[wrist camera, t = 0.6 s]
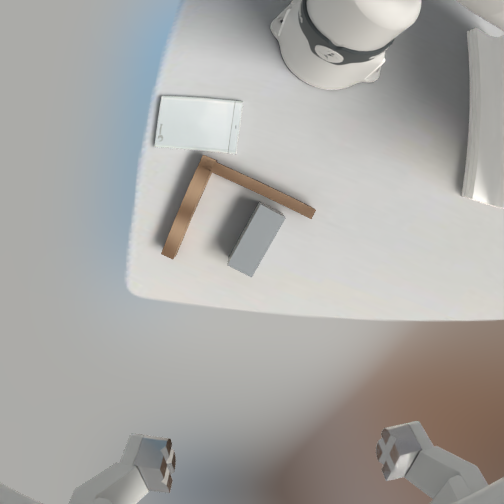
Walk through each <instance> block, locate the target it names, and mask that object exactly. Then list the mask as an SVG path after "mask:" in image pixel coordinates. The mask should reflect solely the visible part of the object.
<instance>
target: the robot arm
mask: <svg viewBox="0 0 504 504" xmlns="http://www.w3.org/2000/svg"><path fill="white" fill-rule="evenodd" d="M456 1H457V2H459V3H460V4H461V5H463V6H464V7H465V8H467V9H468V10H469V11H471V12H472V13H474V14H475V15H477V16H479V17H481V18H482V19H484V20H486V21H487V22H489V23H491V24H492V25H494V26H496V27H497V28H499V29H501V30H502V31H504V0H456ZM420 10H421V0H292V2H291V3H290V4H289V5H288V6H287V7H286V8H285V9H284V10H283V11H282V12H281V13H280V14H279V15H278V16H277V17H276V18H275V19H274V20H273V21H272V23H271V25H270V29H271V32H272V33H273V35H274V36H275V37H276V38H277V40H278V42H279V45H280V50H281V54H282V57H283V59H284V62H285V63H286V65H287V67H288V68H289V69H290V70H291V72H292V73H293V74H294V75H296V76H297V77H298V78H299V79H301V80H302V81H304V82H305V83H307V84H309V85H311V86H314V87H317V88H321V89H326V90H339V89H344V88H347V87H350V86H352V85H354V84H356V83H360V82H375V81H376V80H377V79H378V78H379V75H380V70H381V65H382V64H383V63H384V62H385V58H384V56H385V51H386V50H387V49H388V48H389V47H390V45H391V44H392V42H393V41H394V39H395V37H397V36H398V35H399V34H401V33H402V32H403V31H404V30H406V29H407V28H408V27H410V26H411V25H412V24H413V23H414V22H415V21H416V19H417V18H418V16H419V13H420ZM280 21H283V22H282V23H281V22H280ZM381 435H382V438H381V439H380V440H379V441H378V443H377V446H376V455H377V459H378V461H379V462H380V463H382V464H383V467H382V472H383V474H384V477H385V479H386V481H388V480H393V479H397V478H401V477H405V478H406V479H407V480H408V481H410V482H411V483H412V484H414V485H415V486H416V487H418V488H419V489H420V490H422V491H423V492H424V493H426V494H427V495H428V496H430V497H431V498H432V499H433V500H432V501H431V502H430V503H429V504H504V477H503V478H501V479H499V480H497V481H496V482H494V483H492V484H490V485H488V484H487V482H486V480H485V479H484V477H483V475H482V474H481V472H480V470H479V469H478V467H477V466H476V465H474V464H472V463H470V462H468V461H466V460H464V459H461V458H460V457H457V456H456V455H453V454H452V453H450V452H448V451H445V450H444V449H442V448H440V447H438V446H435V447H434V446H433V444H432V442H431V441H430V439H429V437H428V435H427V434H426V432H425V431H424V429H423V427H422V425H421V424H420V422H419V421H414V422H410V423H407V424H406V423H405V424H401V425H397V426H392V427H388V428H384V429H383V431H382V433H381ZM171 447H172V442H171V439H169V438H161V437H154V436H148V435H142V434H135V433H132V434H131V435H130V437H129V439H128V442H127V445H126V447H125V450H124V452H123V455H122V458H121V460H120V463H115V464H113V465H112V466H110V467H109V468H107V469H106V470H104V471H103V472H101V473H100V474H98V475H96V476H95V477H93V478H92V479H90V480H89V481H87V482H85V483H84V484H82V485H81V486H79V487H77V488H76V489H75V490H74V492H73V495H72V497H71V499H70V502H69V504H136V503H137V502H138V501H139V500H141V499H142V498H143V497H144V496H145V495H146V494H147V493H148V492H149V491H156V492H164V493H170V490H171V486H172V478H171V474H172V473H173V472H174V470H175V465H176V457H175V452H174V450H173V449H171ZM148 490H149V491H148ZM0 504H43V503H40V502H38V501H36V500H34V499H32V498H30V497H27V496H25V495H23V494H21V493H19V492H17V491H15V490H13V489H11V488H9V487H8V486H6V485H4V484H2V483H1V482H0Z"/></svg>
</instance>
